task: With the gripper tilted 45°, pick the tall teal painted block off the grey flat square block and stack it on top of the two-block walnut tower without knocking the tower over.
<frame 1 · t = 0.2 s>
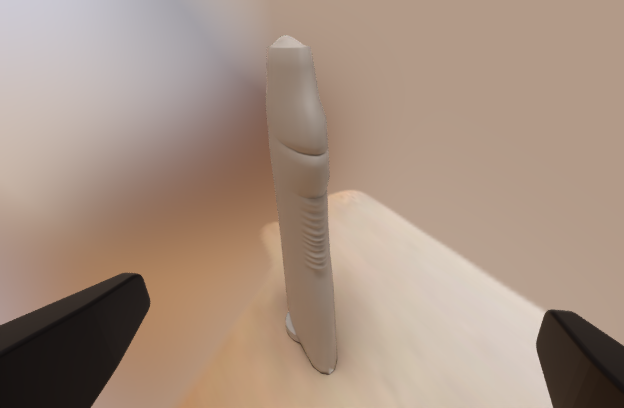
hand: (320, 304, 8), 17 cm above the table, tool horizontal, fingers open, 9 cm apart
tall pale column: (310, 326, 29), on the table
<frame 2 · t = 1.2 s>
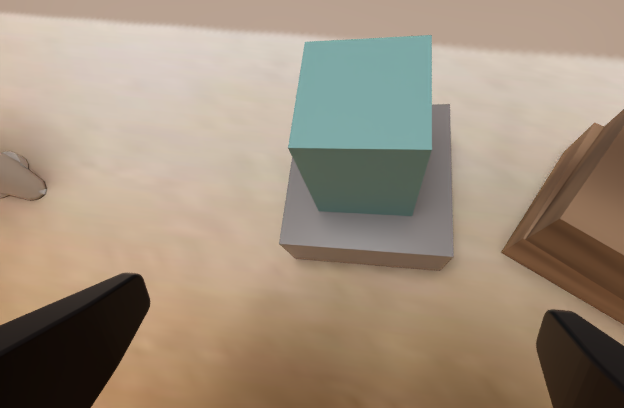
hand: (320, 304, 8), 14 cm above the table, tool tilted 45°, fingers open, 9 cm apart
grey flat square block: (368, 197, 23), on the table
teal block: (366, 171, 19), point 4 cm above the table, touching grey flat square block
tower lower: (601, 237, 20), on the table, touching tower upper
tall pale column: (10, 177, 30), on the table
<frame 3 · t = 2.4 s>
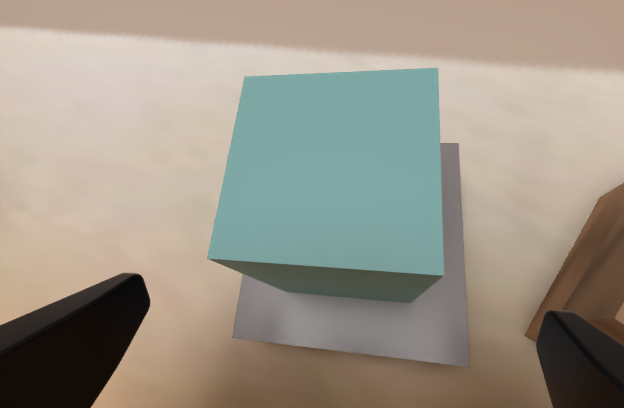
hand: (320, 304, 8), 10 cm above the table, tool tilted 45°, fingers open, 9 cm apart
grey flat square block: (355, 255, 18), on the table
teal block: (349, 236, 14), point 4 cm above the table, touching grey flat square block
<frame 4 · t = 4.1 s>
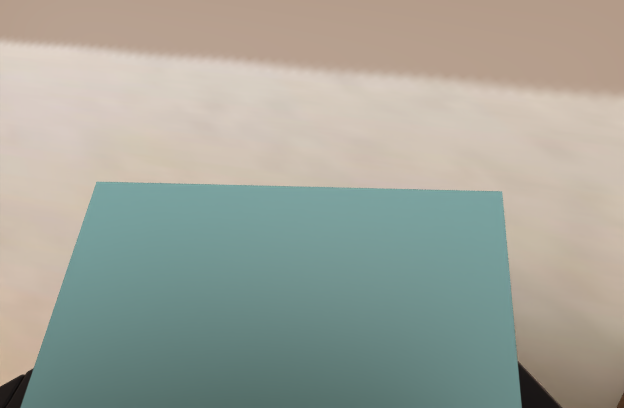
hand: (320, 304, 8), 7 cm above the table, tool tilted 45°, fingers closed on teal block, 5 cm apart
teal block: (331, 361, 10), point 4 cm above the table, touching grey flat square block, gripper
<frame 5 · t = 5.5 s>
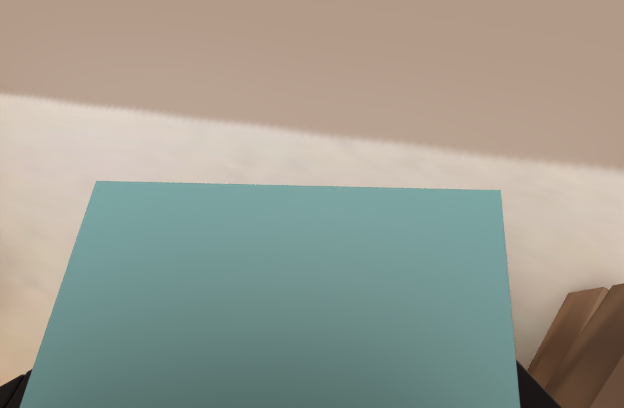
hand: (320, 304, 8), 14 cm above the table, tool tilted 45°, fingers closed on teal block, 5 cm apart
teal block: (330, 360, 10), point 11 cm above the table, touching gripper
when the fingers open (11 cm above the table, at t = 7.5 s): teal block drops 1 cm, resting on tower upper.
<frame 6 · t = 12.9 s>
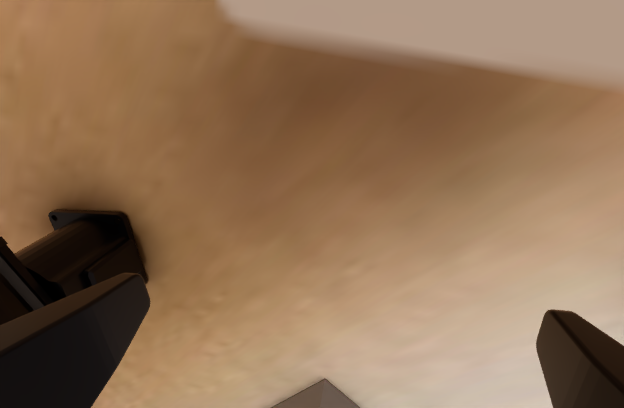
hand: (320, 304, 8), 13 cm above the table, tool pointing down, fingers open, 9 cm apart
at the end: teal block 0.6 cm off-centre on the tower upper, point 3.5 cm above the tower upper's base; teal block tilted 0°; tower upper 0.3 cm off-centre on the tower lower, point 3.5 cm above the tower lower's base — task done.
